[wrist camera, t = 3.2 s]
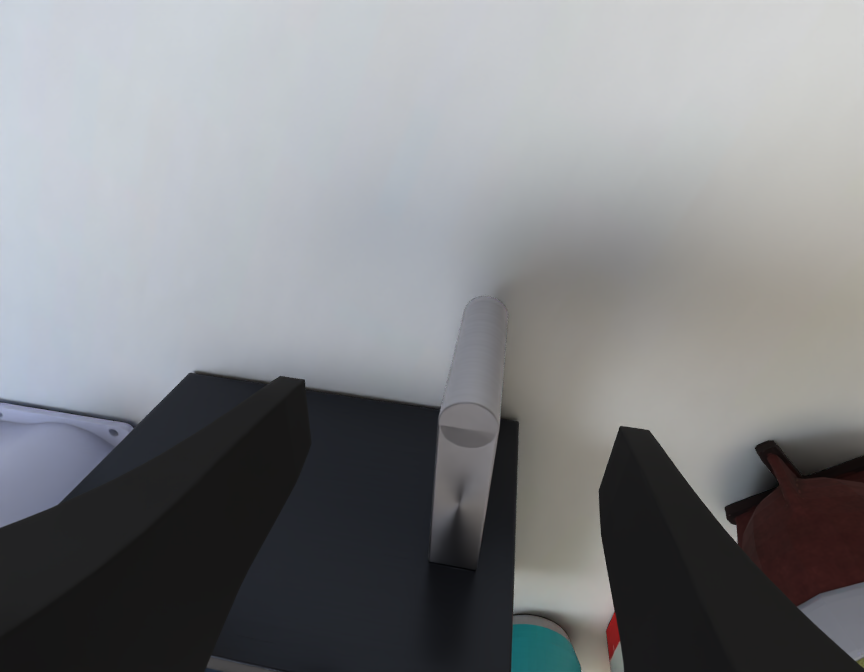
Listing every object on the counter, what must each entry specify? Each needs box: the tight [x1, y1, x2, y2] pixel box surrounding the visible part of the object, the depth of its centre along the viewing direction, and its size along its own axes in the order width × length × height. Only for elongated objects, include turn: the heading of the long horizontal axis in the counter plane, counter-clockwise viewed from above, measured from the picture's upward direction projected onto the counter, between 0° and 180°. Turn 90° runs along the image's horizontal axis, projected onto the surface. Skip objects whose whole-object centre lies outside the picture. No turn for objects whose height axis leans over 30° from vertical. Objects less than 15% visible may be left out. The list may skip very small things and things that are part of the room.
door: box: [59, 296, 519, 672], centre depth 17 cm, size 8×16×12 cm, turn 88°
